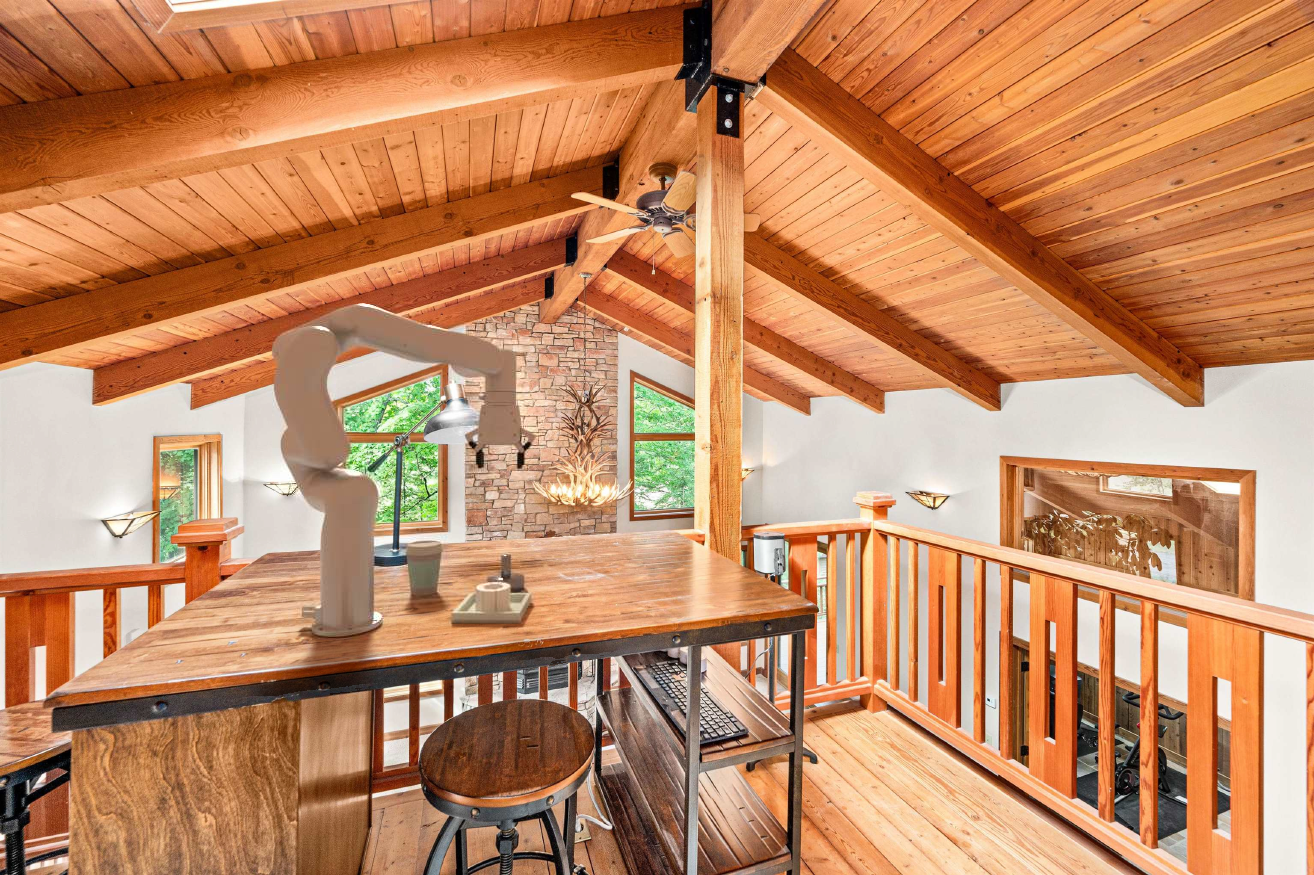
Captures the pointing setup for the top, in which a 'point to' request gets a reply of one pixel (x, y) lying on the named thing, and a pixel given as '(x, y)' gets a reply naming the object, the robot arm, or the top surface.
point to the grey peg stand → (508, 575)
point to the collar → (493, 597)
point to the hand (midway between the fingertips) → (500, 468)
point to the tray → (469, 614)
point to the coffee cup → (423, 566)
